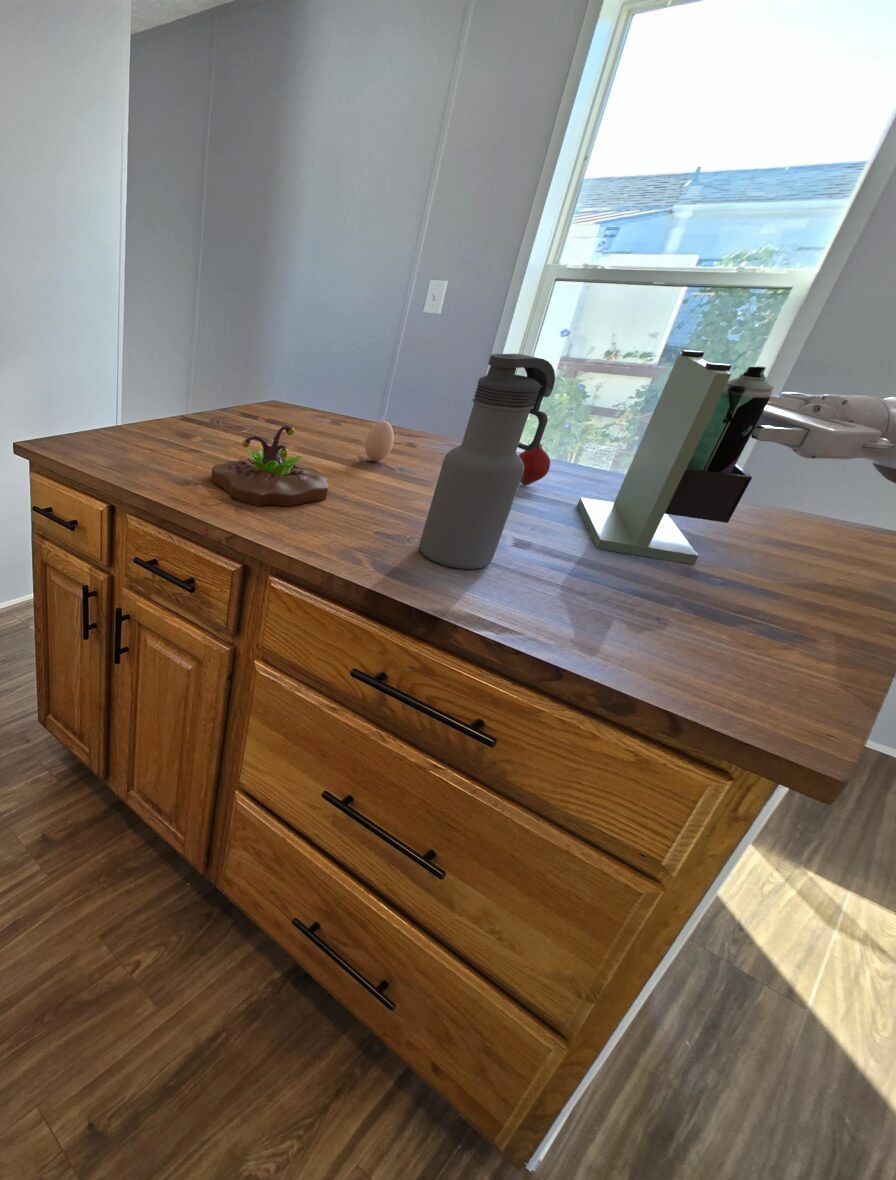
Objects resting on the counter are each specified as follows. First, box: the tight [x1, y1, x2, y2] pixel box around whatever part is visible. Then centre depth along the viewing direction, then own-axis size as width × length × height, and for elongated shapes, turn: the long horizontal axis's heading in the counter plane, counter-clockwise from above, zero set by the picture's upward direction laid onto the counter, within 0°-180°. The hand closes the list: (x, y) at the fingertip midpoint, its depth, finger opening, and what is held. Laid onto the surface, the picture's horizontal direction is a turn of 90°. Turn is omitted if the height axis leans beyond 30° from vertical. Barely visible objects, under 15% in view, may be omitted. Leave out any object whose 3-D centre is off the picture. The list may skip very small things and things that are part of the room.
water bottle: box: [418, 353, 556, 570], centre depth 89 cm, size 10×10×28 cm
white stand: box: [576, 349, 753, 566], centre depth 98 cm, size 16×20×27 cm
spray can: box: [687, 366, 775, 474], centre depth 95 cm, size 6×6×20 cm
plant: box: [210, 424, 329, 507], centre depth 118 cm, size 20×20×11 cm
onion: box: [518, 443, 551, 486], centre depth 122 cm, size 6×6×8 cm
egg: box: [364, 420, 395, 462], centre depth 133 cm, size 5×5×8 cm
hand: (730, 424), depth 94 cm, fingers open, 8 cm apart
